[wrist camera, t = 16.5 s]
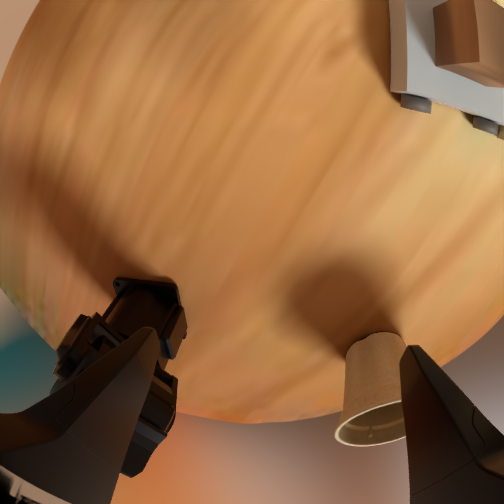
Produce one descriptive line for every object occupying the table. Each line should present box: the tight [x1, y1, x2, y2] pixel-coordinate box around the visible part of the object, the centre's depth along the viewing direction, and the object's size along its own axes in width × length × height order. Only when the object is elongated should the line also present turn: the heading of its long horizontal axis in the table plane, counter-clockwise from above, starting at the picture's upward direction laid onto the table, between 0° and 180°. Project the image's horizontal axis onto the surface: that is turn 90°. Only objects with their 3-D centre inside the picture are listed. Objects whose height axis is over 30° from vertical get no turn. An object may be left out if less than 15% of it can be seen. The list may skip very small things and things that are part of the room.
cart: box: [389, 0, 504, 135], centre depth 11 cm, size 9×10×3 cm
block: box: [433, 0, 504, 88], centre depth 7 cm, size 4×4×4 cm
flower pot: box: [334, 332, 407, 446], centre depth 22 cm, size 9×9×9 cm
